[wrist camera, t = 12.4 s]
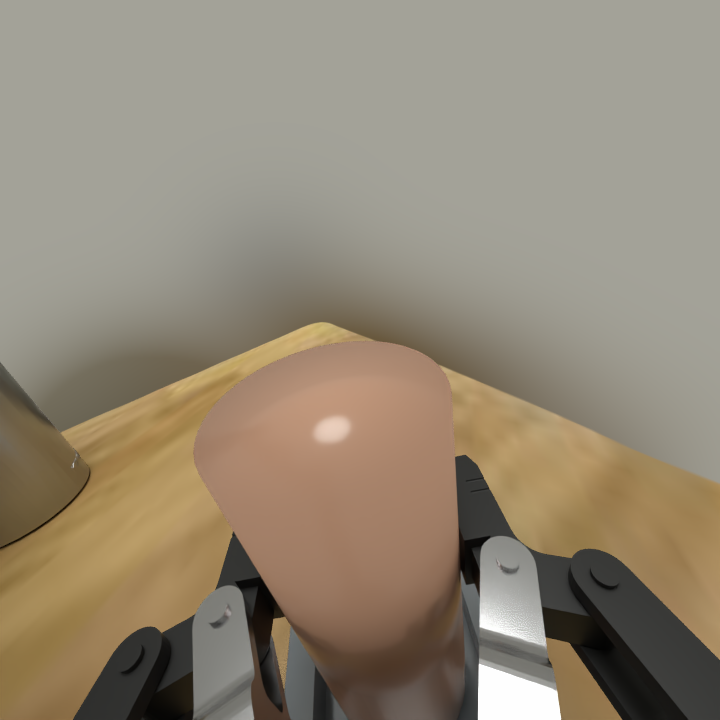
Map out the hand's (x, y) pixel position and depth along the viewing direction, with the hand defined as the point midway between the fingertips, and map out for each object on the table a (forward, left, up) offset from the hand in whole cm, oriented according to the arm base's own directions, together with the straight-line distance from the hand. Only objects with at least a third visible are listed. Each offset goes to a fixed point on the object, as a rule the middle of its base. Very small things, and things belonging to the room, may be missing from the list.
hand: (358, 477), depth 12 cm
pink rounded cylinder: (-2, -2, -8) cm, 9 cm away
